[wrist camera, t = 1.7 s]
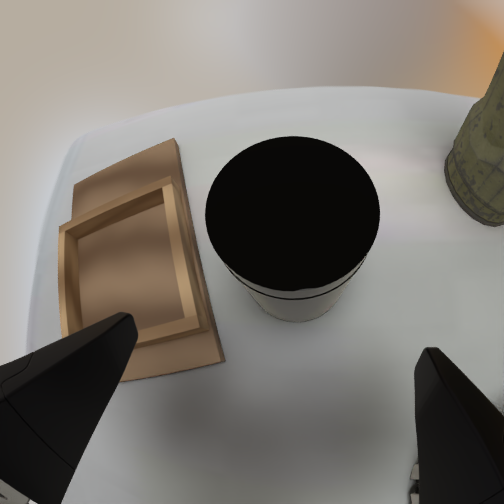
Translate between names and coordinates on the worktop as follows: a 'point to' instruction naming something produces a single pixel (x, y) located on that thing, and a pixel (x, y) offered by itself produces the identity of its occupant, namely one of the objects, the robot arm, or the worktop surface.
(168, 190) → the board
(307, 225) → the supplement container
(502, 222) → the thermos
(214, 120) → the worktop surface
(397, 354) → the worktop surface
